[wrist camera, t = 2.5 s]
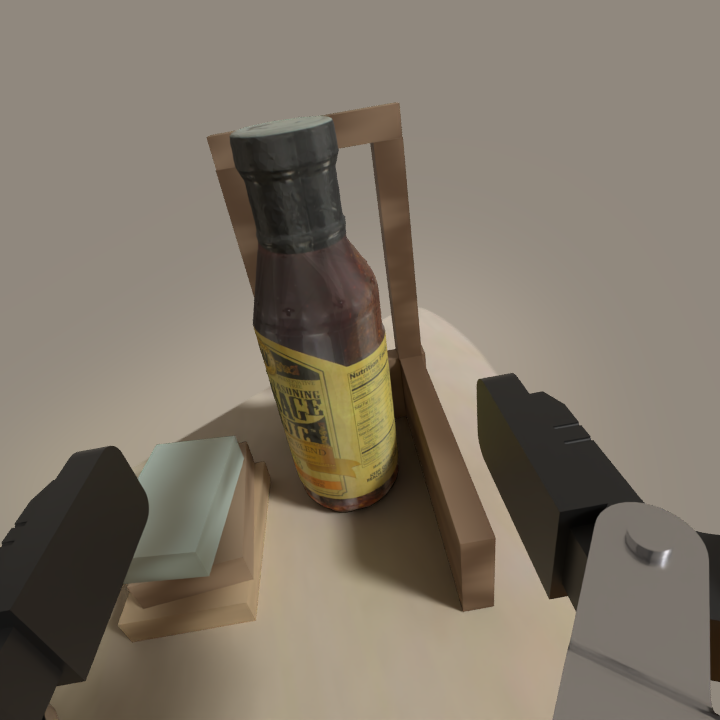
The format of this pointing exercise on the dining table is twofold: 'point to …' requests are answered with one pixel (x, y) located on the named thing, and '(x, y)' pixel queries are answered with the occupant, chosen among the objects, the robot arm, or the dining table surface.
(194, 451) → the offcut stack
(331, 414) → the sauce bottle
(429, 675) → the dining table surface
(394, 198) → the walnut rack
